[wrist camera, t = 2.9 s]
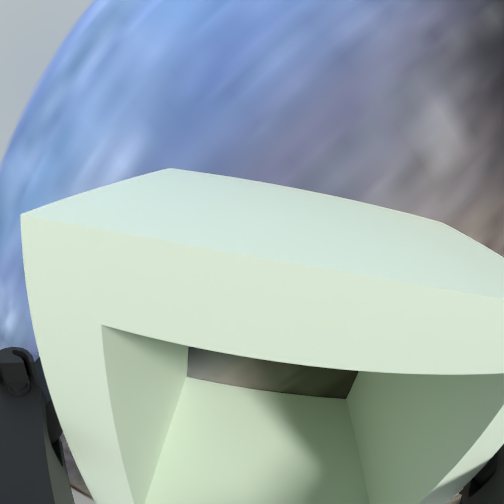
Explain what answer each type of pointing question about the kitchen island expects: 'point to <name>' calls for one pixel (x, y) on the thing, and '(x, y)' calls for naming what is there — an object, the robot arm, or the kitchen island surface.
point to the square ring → (264, 342)
